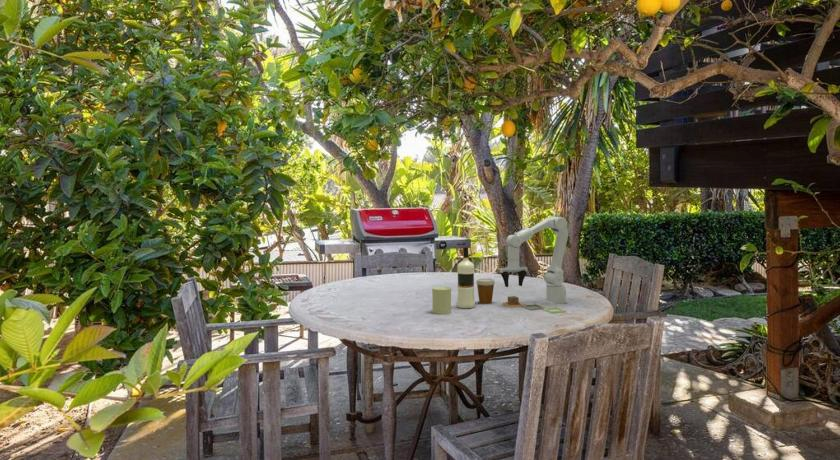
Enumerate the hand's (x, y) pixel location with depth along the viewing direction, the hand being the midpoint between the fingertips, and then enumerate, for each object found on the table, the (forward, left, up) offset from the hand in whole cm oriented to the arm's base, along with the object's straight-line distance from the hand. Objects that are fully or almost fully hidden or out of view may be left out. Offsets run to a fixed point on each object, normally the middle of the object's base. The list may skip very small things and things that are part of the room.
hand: (513, 286), depth 290 cm
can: (+38, 0, -10) cm, 40 cm away
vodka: (+23, -6, -10) cm, 26 cm away
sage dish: (-12, +19, -10) cm, 25 cm away
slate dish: (-6, +10, -10) cm, 15 cm away
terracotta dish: (0, 0, -10) cm, 10 cm away
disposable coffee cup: (+10, -11, -10) cm, 18 cm away
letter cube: (0, 0, -9) cm, 9 cm away
